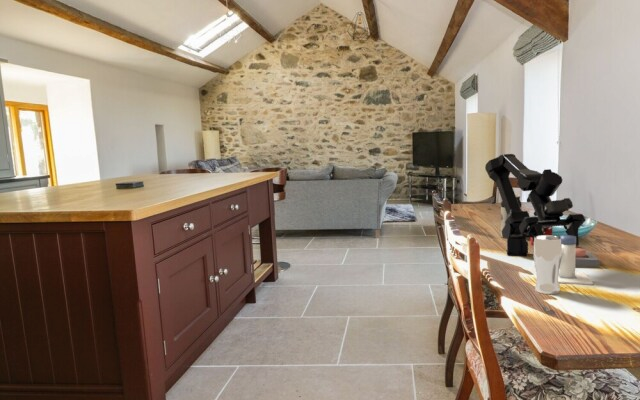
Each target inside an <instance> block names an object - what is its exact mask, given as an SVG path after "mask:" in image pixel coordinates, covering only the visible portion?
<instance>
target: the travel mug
mask: <svg viewBox="0 0 640 400" xmlns="http://www.w3.org/2000/svg"><path fill="white" fill-rule="evenodd" d="M515 195H516V198H517V201H518V204H519V206H520V209H521V210H522V202H521V197H522V196H521V194H515ZM506 217H507V212H506V210H505V207H504V204H503V201H502V200H501V202H500V220H501V221H500V224H501V227H500V228H501V230H500V233H501V237H502V230H503V228H504V226H505V225H506V224H505V220H506Z"/></svg>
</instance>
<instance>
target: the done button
mask: <svg viewBox="0 0 640 400" xmlns="http://www.w3.org/2000/svg"><path fill="white" fill-rule="evenodd" d="M586 252H587V250H586V249H584V248H581V247H576V254H575V257H576V258H586Z"/></svg>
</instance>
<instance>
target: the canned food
mask: <svg viewBox="0 0 640 400" xmlns="http://www.w3.org/2000/svg"><path fill="white" fill-rule="evenodd" d="M531 217H534V215H532V216H531ZM536 217H537V216H536ZM542 231H543V234H544V235H553V226H550V227H542ZM530 244H531V246H533V247H534V239H533V238H532V237H531V238H530Z"/></svg>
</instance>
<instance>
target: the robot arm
mask: <svg viewBox="0 0 640 400" xmlns="http://www.w3.org/2000/svg"><path fill="white" fill-rule="evenodd" d="M484 167H485V172H486V173H487V175H488V177H489V179H491V180H492V181H493V182H495V184H496V187H497V190H498V192H499V195H500V198H501V202H502V201H503V204H504V207H505V210H506V212H507V217H506V220H505V224H506V225H505V226H504V228H503V230H502V236H501V237H502V238H504V239H506V256H512V257H513V256H521V257H522V256H523V257H526V256H528V253H529V242H528V240H527V238H529V239H531V237H532V238H533V239H534V237H535V236H538V235H544V234H543V231H542V227H550V226H552V227H563V228H564V230H565V234H566V235H572V236H576V247H578V246H579V244H580V243H579V229H580V228H581V227H582V225H583V224H584V222H586V220H587V219H586V217H585V216H584V214H583V213H570V214H568V215H567V217H566V218H562V217H563V216H564V215H565V214H564V213H565V212H566V211H569V210H570V209H573V207H574V205H573V201H572V199H571V198H569V197H567V198H566V197H565V198H563V199H559V200H558V199H557V200H552V199H551V197H552V196H554V194H555V193H556V192H557V190H558V189H559V188H560V186H561V184H562V183H563V178H562V176H561V175H559V174H558V173H557V172H554V171H552V169H550V168H549V169H544V170H543V171H542V173H541V172H539V171H537V170H532V169H530V168H528V167H527V166H526V165H525V164H524V163H523V162H522V161H520V160H519V159H518V158H517V157H516V155H515V154H514V153H502V154H500V155H499V156H496V157H494V158H493V159H490V160H488V162H486V164H485V166H484ZM510 174H512V176H513V177H515V178H516V180H517V182H516V184H517V186H518V187H519V188H520V190H521V191H522V192H529V194H528V196H527V197H526V203H530V204H531V206H532V208H533V210H534V212H533V216H534V217H532V216H530V212H529V211H527V210H522V208H521V209H520V206H519V204H518V201H517V198H516V195H517V194H516V195H515V190H514V188H513V185H512V183H511V180H510ZM536 216H537V217H536ZM561 218H562V219H561Z"/></svg>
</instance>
